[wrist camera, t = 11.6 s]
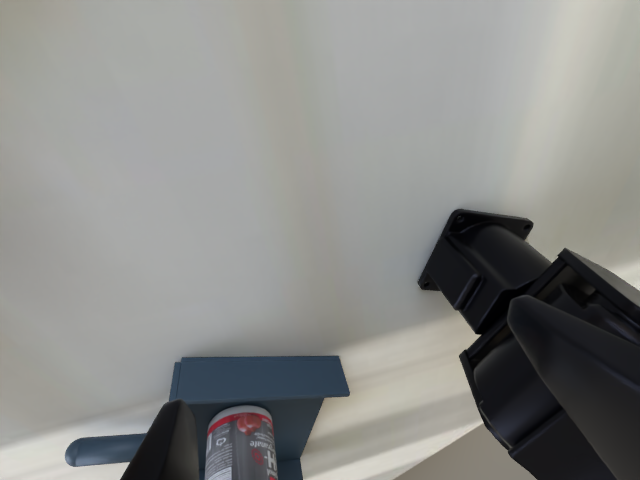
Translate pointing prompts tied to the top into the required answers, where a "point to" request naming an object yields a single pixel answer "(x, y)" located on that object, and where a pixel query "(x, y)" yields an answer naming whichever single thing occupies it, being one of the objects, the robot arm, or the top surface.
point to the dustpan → (238, 404)
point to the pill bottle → (241, 445)
